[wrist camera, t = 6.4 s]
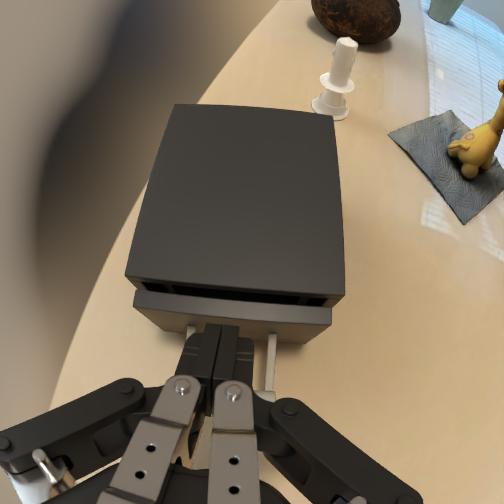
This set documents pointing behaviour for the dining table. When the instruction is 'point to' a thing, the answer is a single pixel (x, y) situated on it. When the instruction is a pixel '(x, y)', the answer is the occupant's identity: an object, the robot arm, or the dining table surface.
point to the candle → (337, 81)
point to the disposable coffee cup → (443, 9)
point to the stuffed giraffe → (458, 157)
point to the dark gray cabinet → (243, 205)
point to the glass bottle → (359, 18)
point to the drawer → (236, 317)
